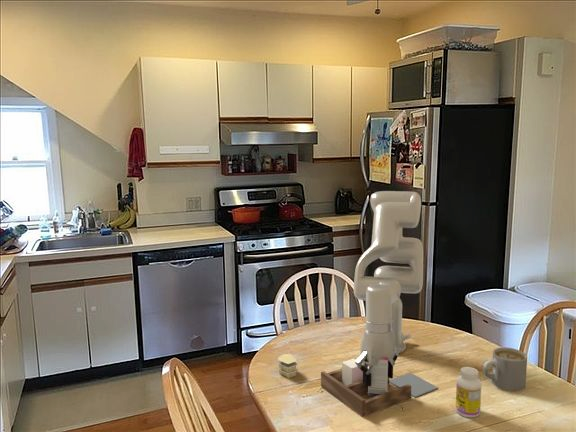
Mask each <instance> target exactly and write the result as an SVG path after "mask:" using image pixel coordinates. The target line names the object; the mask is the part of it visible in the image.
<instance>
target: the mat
mask: <svg viewBox="0 0 576 432" xmlns="http://www.w3.org/2000/svg"><path fill="white" fill-rule="evenodd" d="M389 384H391V385H393V386H395V387H396V388H399V387H402V386H405V385H407V384H409V385H411V397H413V398H415V399H416V398H418V397H421V396H423V395H426V394H428V393H431V392H433V391H437V390H439V387H438V386H437V385H434V384H433V383H431V382H429V381H427V380H425V379H423V378H421V377H419V376H418V375H416V374H414V373H413V372H408V373H407V372H406V373H403V374H402V375H401V374H400V376H396V377H393V378H392V379H391V378H389Z"/></svg>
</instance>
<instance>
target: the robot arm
mask: <svg viewBox="0 0 576 432" xmlns="http://www.w3.org/2000/svg"><path fill="white" fill-rule="evenodd" d="M369 201H370V206H371V209H372V211H373V220H372V221H373V223H372V234H371V244H370V246H369V247H368V248H367V249H366V250H365V251H364V252H363V254H361V256H360V257H359V259H358V261H357V262H356V266H355V269H354V270H355V271H354V277H353V279H354V280H353V294H354V297H355V298H356V299H357V300H360V301H364V302H365V329H363V332H362V336H361V337H362V338H361V343H360V353H359V354H360V356H359V357H357V359H356V361H355V363H356V365H357V366H358V368H359V369H360V370H361V371H363V383H364V384H366V385H368V386H371V373H370V371H371V369H372V367H373V366H374V365H377V364H378V362H379V360H381V359H384V358H388V377H389V379H393V378H394V366H395V365H396V362H397V359H398V356H399V354H401V353H403V352H405V350H406V348H407V347H406V344H405V341H406V340H409V339H411V338H412V337H411V333H408V332H407V333H406V334H404V333H403V332H402V331H403V325H402V324H403V302H402V299H401V298H400V296H401V293H403V294H419V293H420V292H421V291H422V290H423V285H424V284H423V283H424V246H423V242H422V241H421V239H419V238H417V237H416V238H415V237H406V236H403V229H404V228H405V229H414V228H417V227H418V225H419V222H420V217H421V211H422V210H421V208H422V198H421V196H420V194H419V192H416V191H410V190H409V191H408V190H407V191H406V190H405V191H403V190H402V191H399V190H397V191H396V190H381V191H375V192H374V193H371V196H370V199H369ZM378 259H380V260H381V261H382V262H385V263H391V264H392V263H393V264H406V265H407V264H408V265H409V266H399V265H398V266H397V265H382V266H379V267H377V268H376V269H375V270H374V273H373V276H365V270H366V269H367V267H368V265H370V264H371V263H372V262H374V261H377V260H378ZM363 362H364V363H363ZM362 363H363V364H362ZM367 364H368V365H369V366H368V368H367V369H366V366H367Z"/></svg>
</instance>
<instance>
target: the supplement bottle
mask: <svg viewBox="0 0 576 432" xmlns="http://www.w3.org/2000/svg"><path fill="white" fill-rule="evenodd" d="M455 387H456V388H455V389H456V392H455V411H456V413H457V414H459V415H460V416H462V417H465V418H469V419H470V418H476V417H478V416H480V413H481V404H482V403H481V400H482V382H481V380H480V378H479V370H478V369H476V368H474V367H471V366H463V367H461V368H460V375H459V376H458V377H457V379H456V386H455Z"/></svg>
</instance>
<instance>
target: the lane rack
mask: <svg viewBox="0 0 576 432" xmlns="http://www.w3.org/2000/svg"><path fill="white" fill-rule="evenodd" d="M363 363H364V361H363ZM368 366H369V365H368V364H367V366H366V369H367V368H368ZM389 380H390V378H389V377H388V382H387V386H390V382H389ZM320 387H321V388H322V389H323V390H324V391H326V392H328V393H329V394H330V395H331V396H333V397H334V398H336V400H338V401H340V402H341V403H342V404H343V405H345V406H346V407H348V408H349V409H350V410H351V411H353V412H354V413H356V414H357V415H358V416H360V417H361V418H363V417H366V416H369V415H372V414H373V413H376V412H379V411H382V410H384V409H387V408H389V407H392V406H394V405H397V404H400V403H403V402H404V401H407V400H409V399H411V398H412V396H411V385H409V384H407V385H405V386H402V387H399V388H398V387H396V388H394V389H391V390H389V391H388V390H387V392H386V393H383V394H380V395H378V396H376V395H374V396H373V397H370V398H368V399H365V398H364V397H363V396H361V395H365V394H368V385H366V384H364V383H363V380H361V381H358V382H355V383H352V384H349V385H346V386H345V385H343V384H342V368H338V369H336V370H332V371H329V372H326V371H325V370H324V371H321V372H320Z"/></svg>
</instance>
